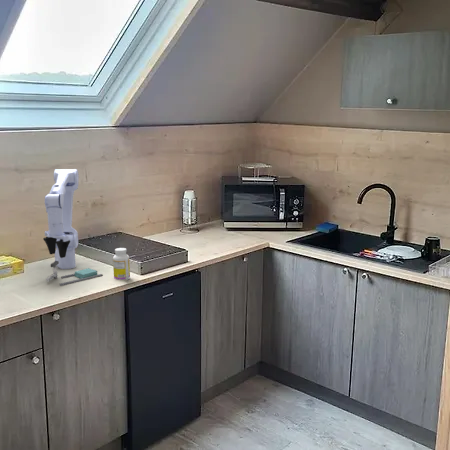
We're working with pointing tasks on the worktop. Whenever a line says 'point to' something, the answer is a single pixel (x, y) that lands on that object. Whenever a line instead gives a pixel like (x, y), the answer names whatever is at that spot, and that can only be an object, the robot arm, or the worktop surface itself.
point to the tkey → (53, 271)
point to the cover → (85, 273)
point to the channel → (78, 279)
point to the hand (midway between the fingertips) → (57, 255)
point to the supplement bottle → (121, 264)
